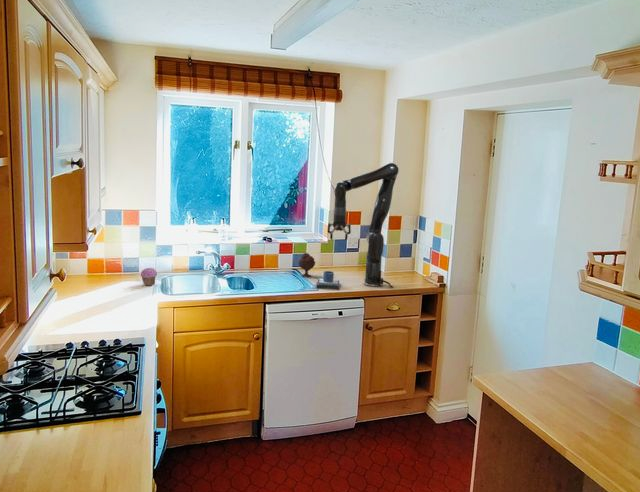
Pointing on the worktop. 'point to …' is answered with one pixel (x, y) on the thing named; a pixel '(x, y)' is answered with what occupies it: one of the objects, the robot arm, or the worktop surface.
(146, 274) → the cupcake
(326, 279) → the dip bowl
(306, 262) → the miniature tree
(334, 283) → the scale
